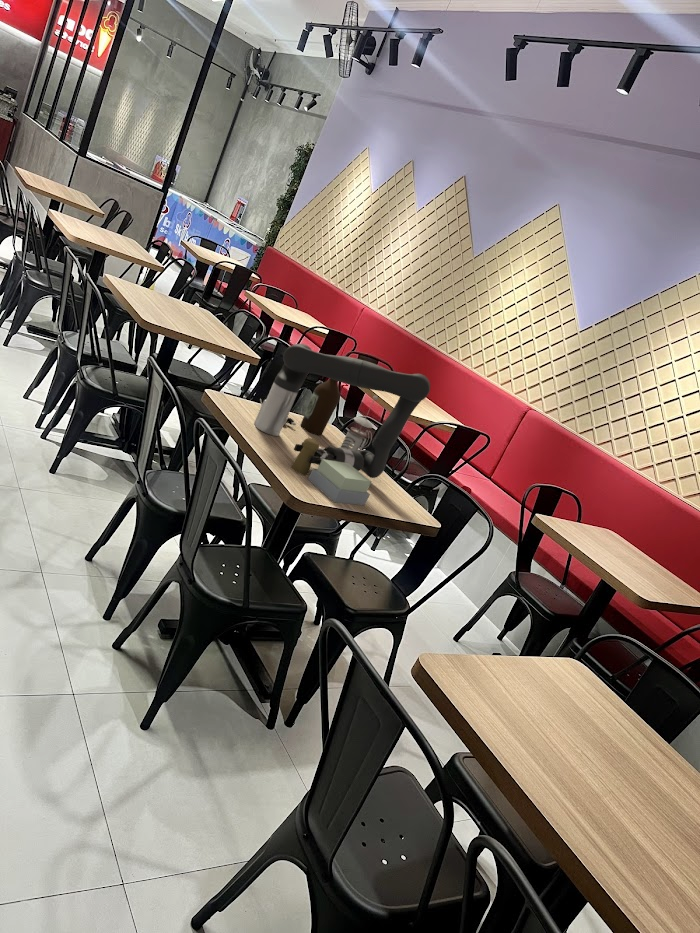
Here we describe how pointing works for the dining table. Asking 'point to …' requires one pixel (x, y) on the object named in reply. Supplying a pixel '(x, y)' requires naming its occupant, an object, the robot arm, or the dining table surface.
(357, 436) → the french press
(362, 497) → the green and grey box
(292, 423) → the robot toy
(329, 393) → the olive oil
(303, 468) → the olive pepper mill
